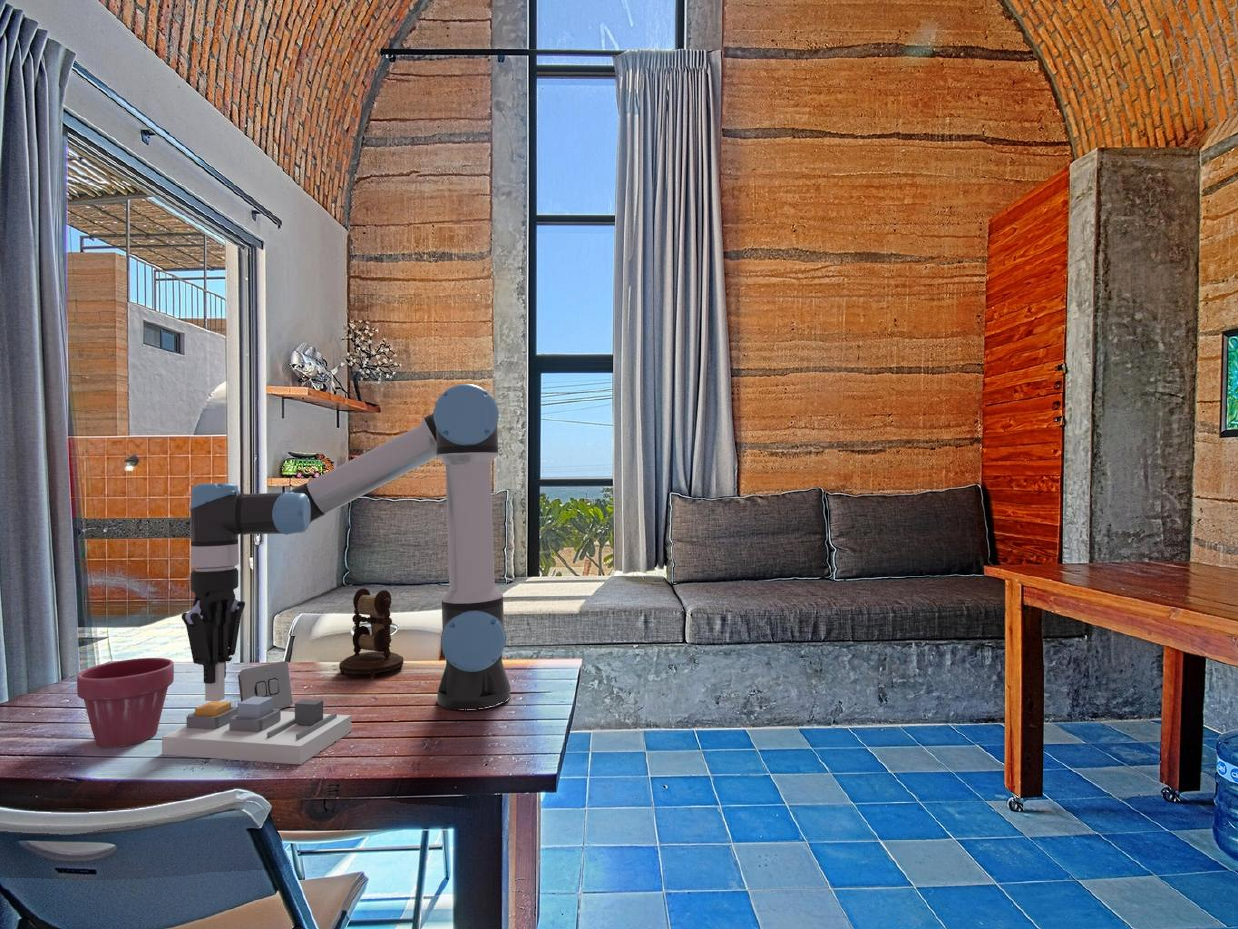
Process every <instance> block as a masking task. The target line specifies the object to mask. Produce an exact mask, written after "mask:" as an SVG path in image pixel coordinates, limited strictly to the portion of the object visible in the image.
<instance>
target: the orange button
mask: <svg viewBox="0 0 1238 929" xmlns="http://www.w3.org/2000/svg"><path fill="white" fill-rule="evenodd" d="M231 706H232V702H231V701H208V702H206V703H204V704H202V705H199V706H197V707H195V708H194V712H195V715H200V716H217V715H219V714H222V713H224V712H226V711H228V710H230V709H231Z"/></svg>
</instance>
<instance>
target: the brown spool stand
mask: <svg viewBox="0 0 1238 929" xmlns="http://www.w3.org/2000/svg"><path fill="white" fill-rule="evenodd" d="M352 601H353V602H352V603H353V604H352V605H353V607H354V611H353V613H354V615H353V616H352V622H353V625H354V629H353V635H352V645H353V647H354V648H353V653H354V654H353V655H349V656H348V657H346V658H345V659H343V660H342V661H340V662H339V666H338V668H339V671H340V674H341V673H344V674H345V673H347V674H354V675H356V674H357V675H360V674H362V675H365V674H369V677H370V679H372V678H373V679H374V678H375V676H376V674H377V673H384V672H388V671H392V670H395V669H399V668H401V669H402V668H403V665H404V664H405V663H404V657H403V656H401V655H399V654H398V653H396V652H392V651H391V649H390V647H391V645H390V644H391V643H392V638H391V636H392V635H391V626H392V624H393V619H392V617H390V616H391V611H390V609H391V605H392V595H391V593H390V591H388V590H386V589H382V590H380V591H378V592H377V594H376V595H371V593H370V591H369V590H368V589H367V588H360V589H358V590H357V591H356V592H355V593H354V596H353V599H352ZM363 615H365V616H363ZM366 616H369V617H366ZM361 623H367V624H370V627H371V631H370V629H369V627H367V626H366V625H361ZM361 650H364V651H365V652H361ZM366 651H368V652H366Z"/></svg>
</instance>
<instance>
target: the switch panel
mask: <svg viewBox="0 0 1238 929" xmlns="http://www.w3.org/2000/svg"><path fill="white" fill-rule="evenodd" d="M185 722H186V725H185V726H183V727H180V728H179V729H176V730H174V731H172V732H170V733H168V734H165V735H163V736H162V737H161V755H164V756H165V755H166V756H176V757H177V756H178V757H179V756H180V757H189V758H190V757H191V758H207V759H219V760H230V761H231V760H232V761H233V760H234V761H246V762H259V763H260V762H261V763H272V764H273V763H274V764H290V765H302V764H304V763H305V762H307V761H308V760H310V759H311V758H313V757H314V756H317V754H319V753H320V751H321V752H322V751H324V750H325V749H327V748H328V747H330V746H331V745H333V744H335V743H336V742H338V741H339V740H340V739H343V738H344V737H346V736H347V735H349V734H350V733H352V715H351V714H350V715H348V714H337V713H336V712H333V713H323V719H322V720H321V721H319V722H317V723H315V724H314V725H305V724H295V711H281V709H273V712H272V713H270V714H268V715H266V716H264V717H262V718H260V719H249V718H238V706H232V705H231V709H230V710H228V711H226V712H224V713H222V714H219V715H217V716H200V715H195V711H193V712H191V713H189V714H188V715H186V721H185ZM349 732H350V733H349ZM335 741H336V742H335ZM334 742H335V743H334Z"/></svg>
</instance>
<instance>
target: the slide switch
mask: <svg viewBox="0 0 1238 929" xmlns="http://www.w3.org/2000/svg"><path fill="white" fill-rule="evenodd" d="M294 712H295V724H305V725H314V724H315V723H317V722H319V721H321V720H322V719H323V714H324V700H323V699H321V700H320V699H308V698H307V699H304V698H303V699H301V700H299V701H297V702H295V703H294Z"/></svg>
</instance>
